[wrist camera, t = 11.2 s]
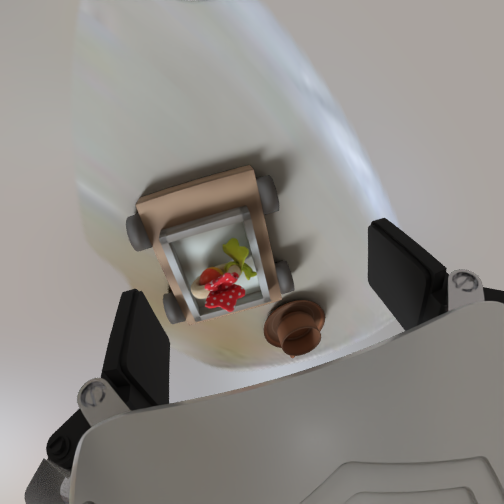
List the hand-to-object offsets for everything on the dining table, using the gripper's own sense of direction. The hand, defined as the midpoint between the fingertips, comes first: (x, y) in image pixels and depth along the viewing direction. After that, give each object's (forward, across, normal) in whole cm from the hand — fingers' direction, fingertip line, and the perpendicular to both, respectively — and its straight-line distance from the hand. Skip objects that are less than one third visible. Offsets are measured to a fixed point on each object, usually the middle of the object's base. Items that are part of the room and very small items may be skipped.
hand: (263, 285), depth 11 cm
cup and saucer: (+31, -6, +34) cm, 46 cm away
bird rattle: (+27, +3, +15) cm, 31 cm away
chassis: (+30, +4, +14) cm, 33 cm away
